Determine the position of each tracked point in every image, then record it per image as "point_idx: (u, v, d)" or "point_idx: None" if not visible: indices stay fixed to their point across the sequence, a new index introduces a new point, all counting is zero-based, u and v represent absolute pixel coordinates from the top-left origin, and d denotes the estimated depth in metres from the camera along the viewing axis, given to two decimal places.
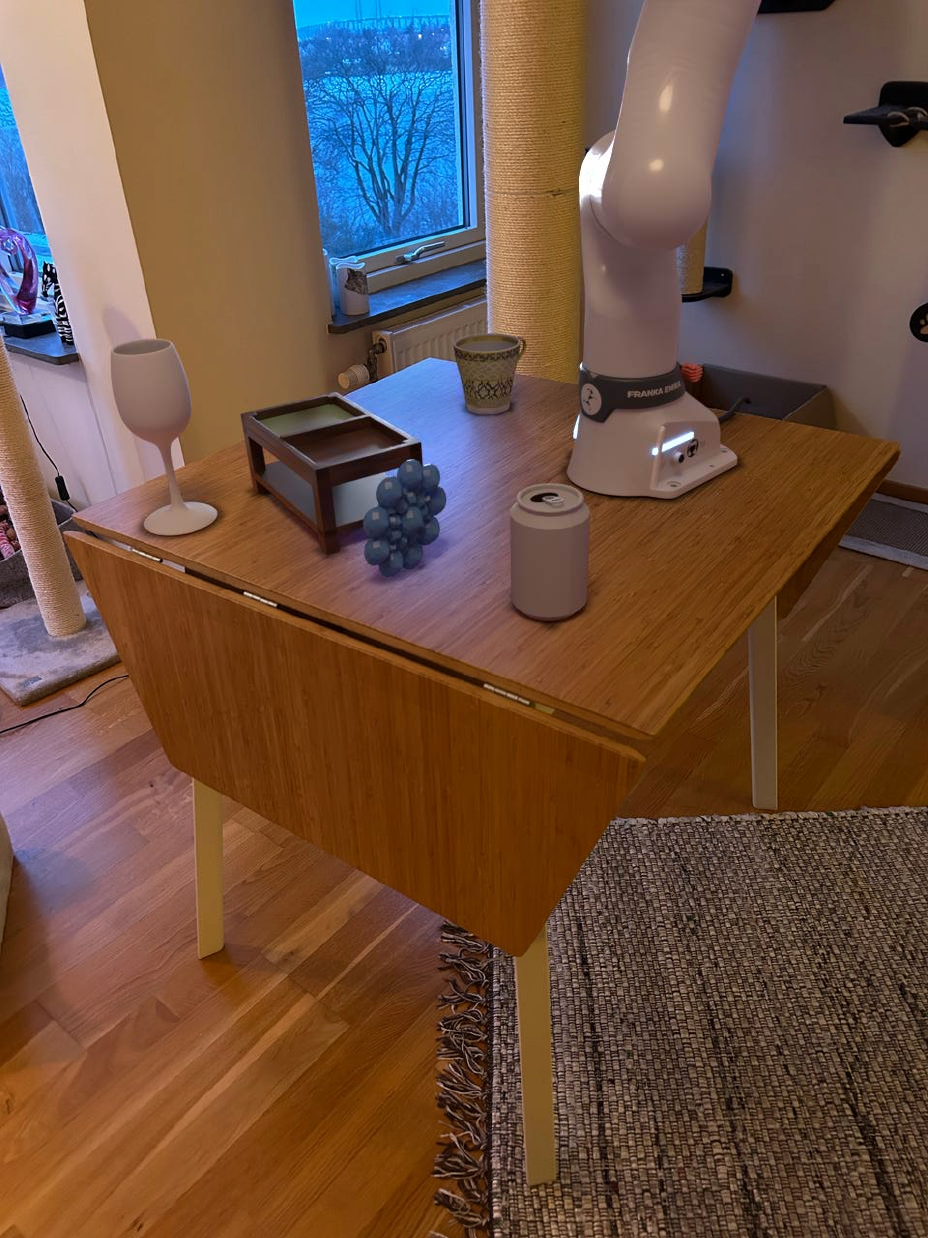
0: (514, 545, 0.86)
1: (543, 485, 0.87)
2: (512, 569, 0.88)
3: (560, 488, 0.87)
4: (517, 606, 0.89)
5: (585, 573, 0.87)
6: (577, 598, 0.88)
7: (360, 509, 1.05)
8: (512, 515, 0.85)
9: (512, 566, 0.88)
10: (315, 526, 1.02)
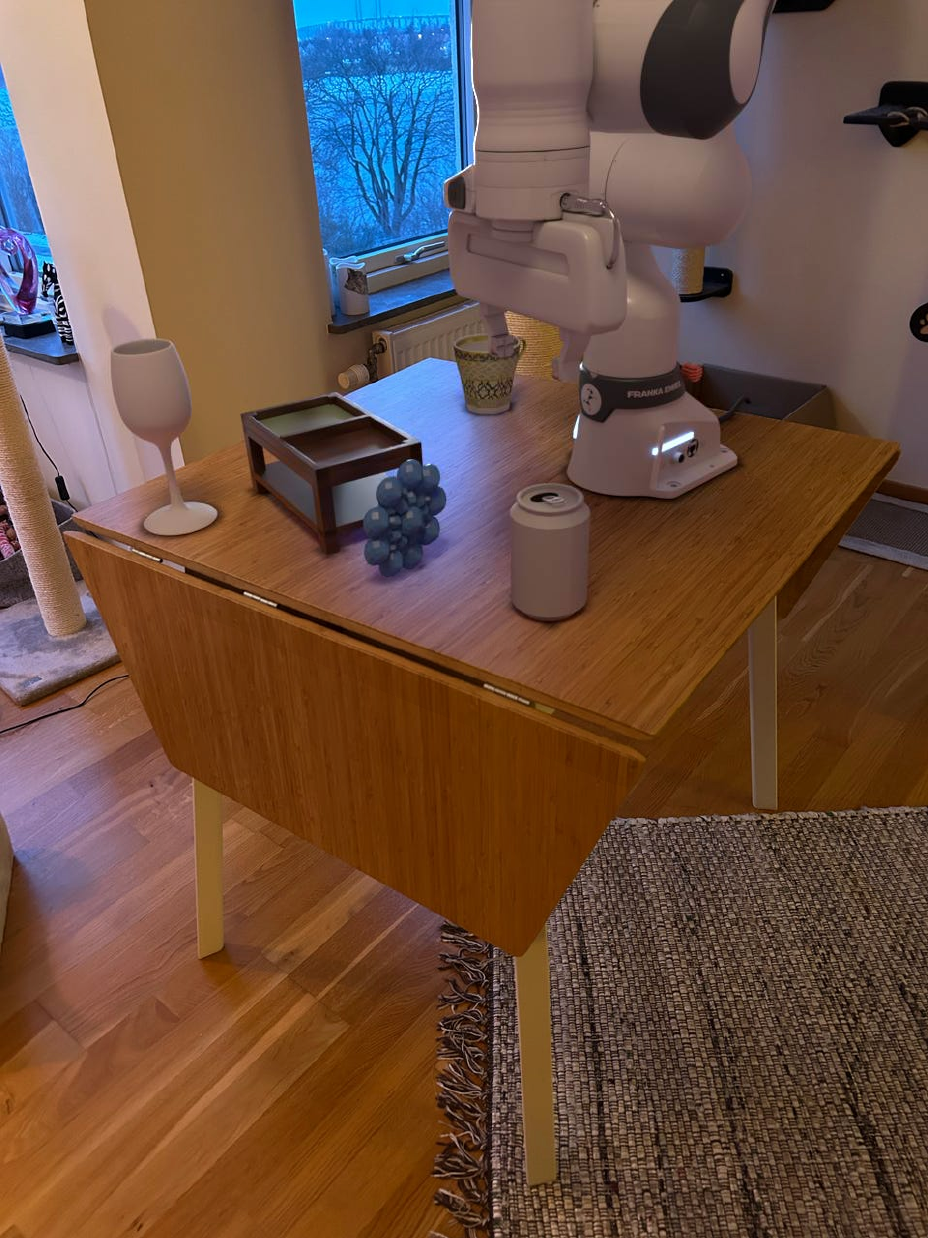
0: (514, 545, 0.86)
1: (543, 485, 0.87)
2: (512, 569, 0.88)
3: (560, 488, 0.87)
4: (517, 606, 0.89)
5: (585, 573, 0.87)
6: (577, 598, 0.88)
7: (360, 509, 1.05)
8: (512, 515, 0.85)
9: (512, 566, 0.88)
10: (315, 526, 1.02)
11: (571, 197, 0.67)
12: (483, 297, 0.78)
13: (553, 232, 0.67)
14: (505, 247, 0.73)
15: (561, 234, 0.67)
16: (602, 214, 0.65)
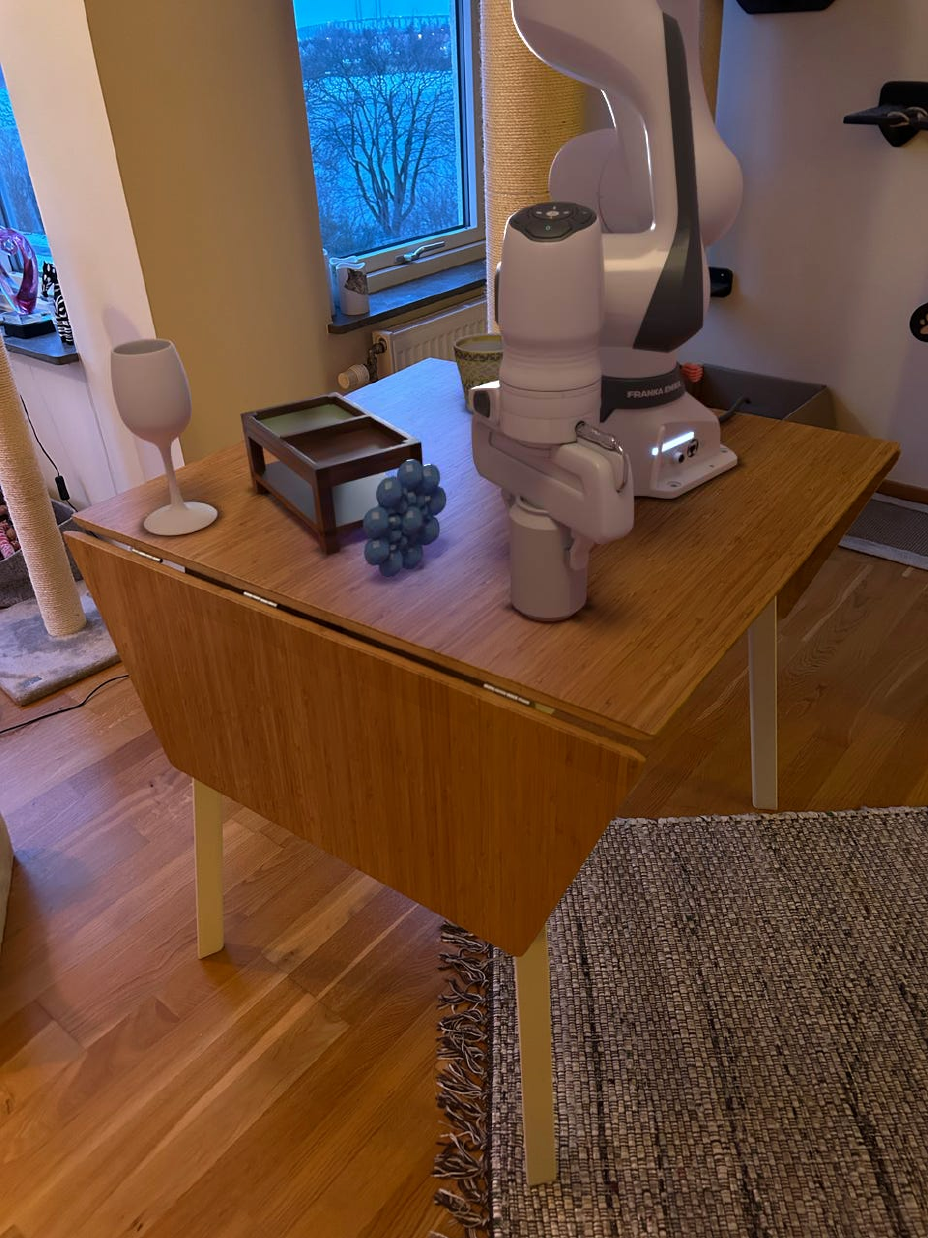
0: (514, 546, 0.86)
1: None
2: (512, 570, 0.88)
3: None
4: (516, 606, 0.89)
5: (584, 573, 0.87)
6: (577, 598, 0.88)
7: (360, 509, 1.05)
8: (511, 515, 0.85)
9: (511, 566, 0.88)
10: (315, 526, 1.02)
11: (585, 427, 0.76)
12: (503, 486, 0.87)
13: (570, 456, 0.77)
14: None
15: (577, 460, 0.76)
16: (613, 449, 0.74)
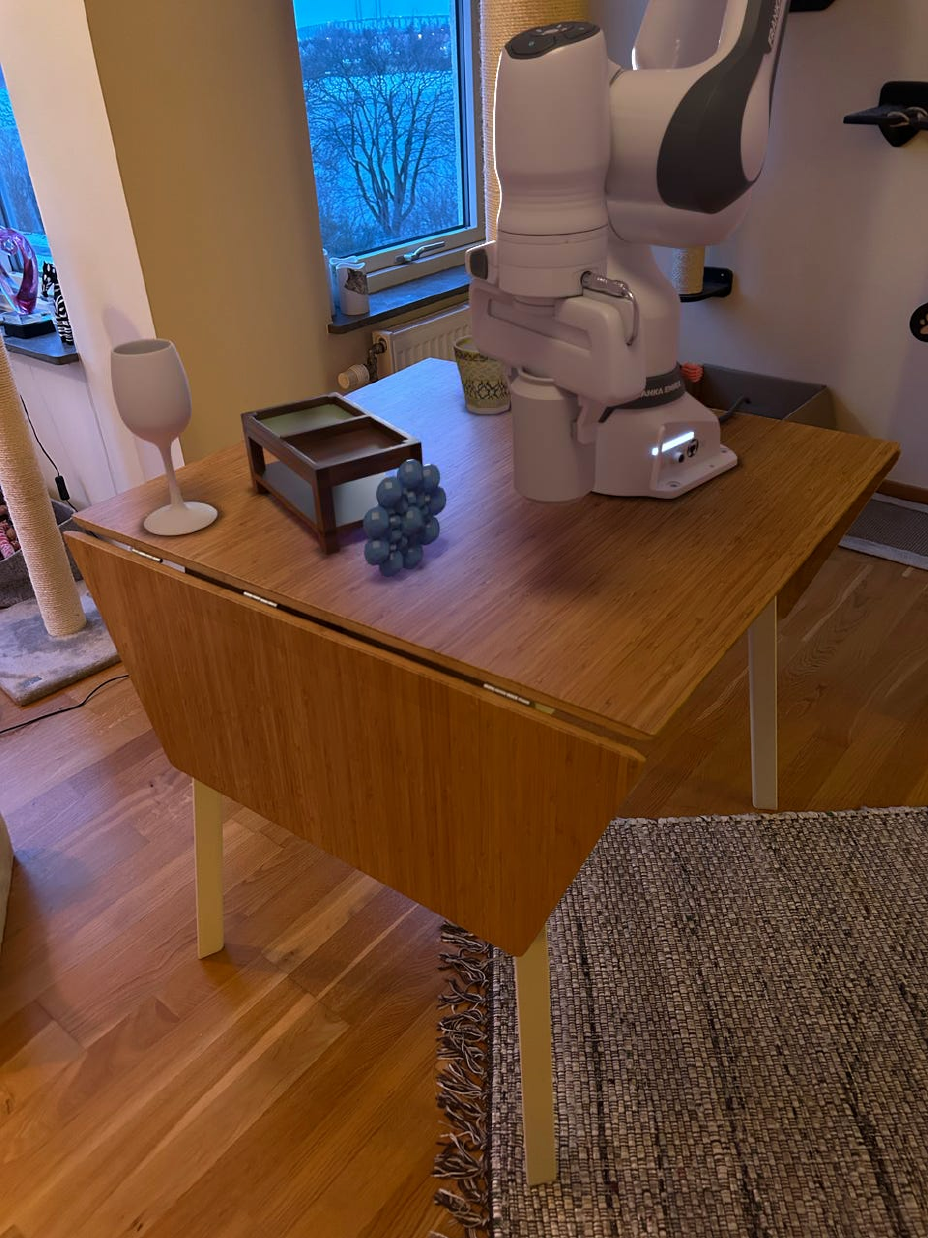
0: (516, 422, 0.80)
1: None
2: (514, 451, 0.82)
3: None
4: (520, 491, 0.83)
5: (593, 453, 0.81)
6: (585, 480, 0.82)
7: (360, 509, 1.05)
8: (513, 388, 0.79)
9: (514, 447, 0.82)
10: (315, 526, 1.02)
11: (592, 276, 0.70)
12: (504, 359, 0.81)
13: (575, 309, 0.71)
14: (526, 315, 0.77)
15: (583, 312, 0.70)
16: (622, 295, 0.68)
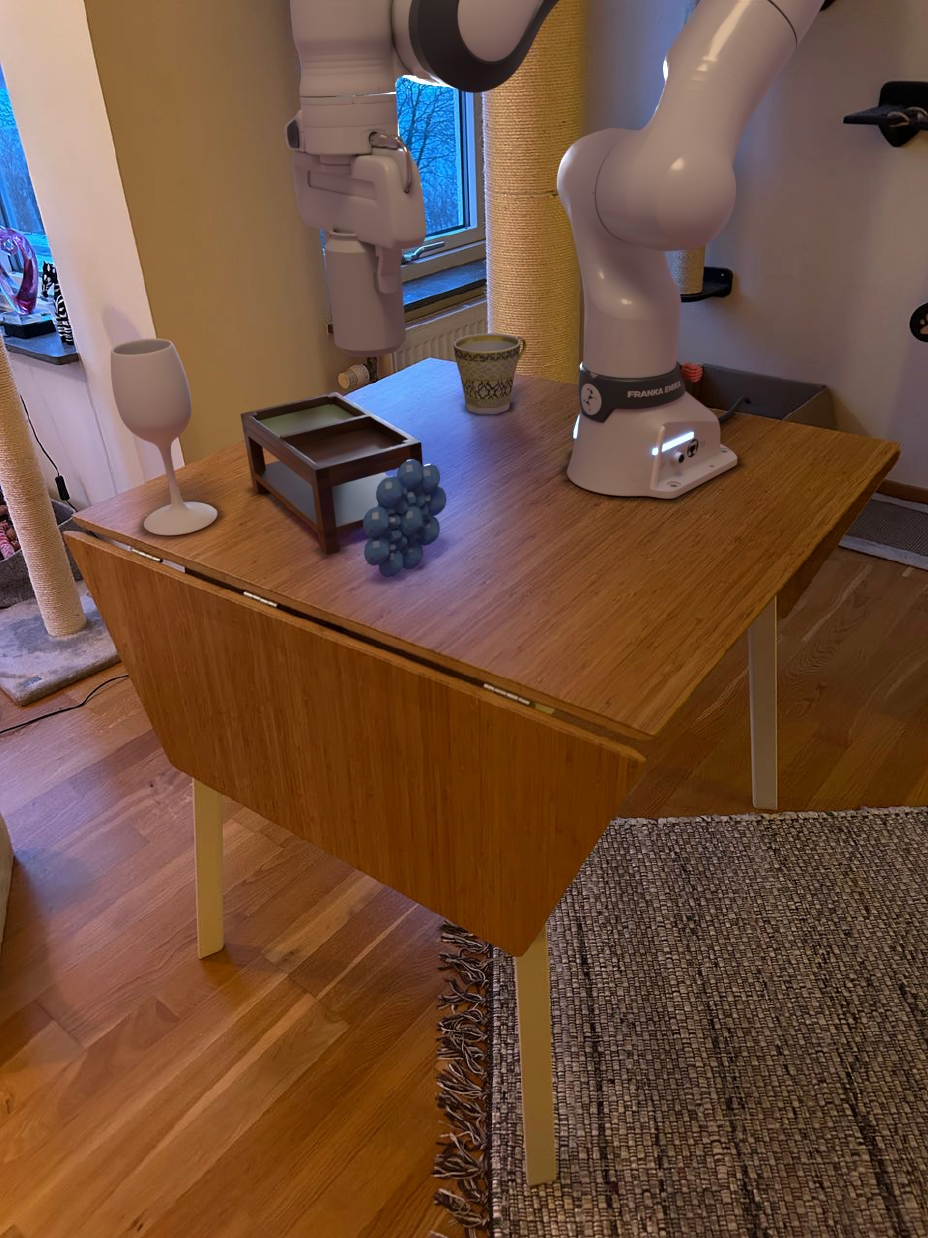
0: (329, 277, 0.91)
1: None
2: (331, 306, 0.93)
3: None
4: (338, 344, 0.94)
5: (399, 308, 0.93)
6: (392, 332, 0.93)
7: (360, 509, 1.05)
8: (325, 246, 0.90)
9: (330, 302, 0.93)
10: (315, 526, 1.02)
11: (376, 134, 0.81)
12: (322, 225, 0.92)
13: (363, 164, 0.82)
14: (334, 180, 0.88)
15: (368, 165, 0.81)
16: (398, 147, 0.80)
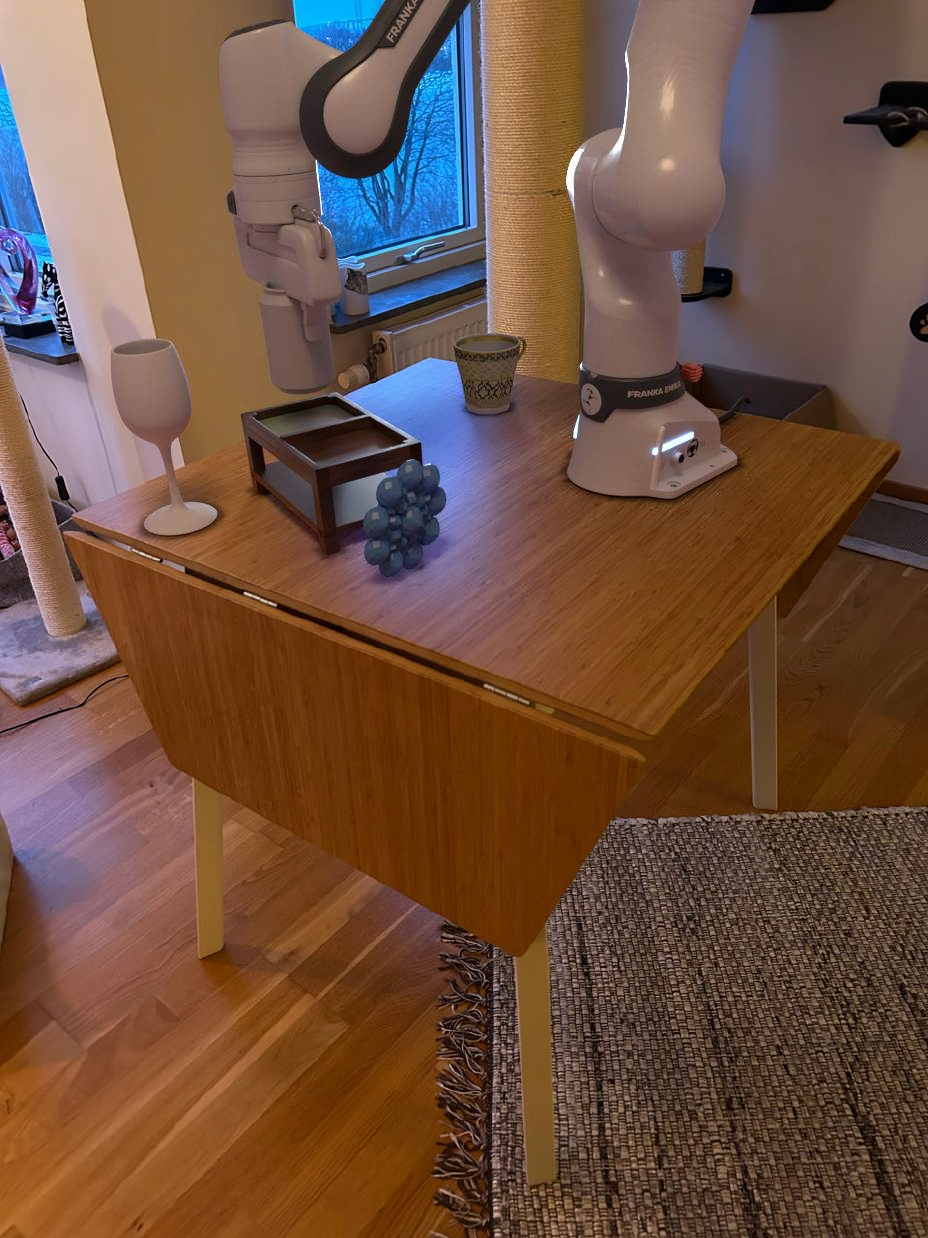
0: (264, 326, 1.04)
1: None
2: (267, 350, 1.06)
3: None
4: (273, 383, 1.07)
5: (326, 352, 1.05)
6: (320, 373, 1.06)
7: (360, 509, 1.05)
8: None
9: (266, 347, 1.06)
10: (315, 526, 1.02)
11: (297, 208, 0.94)
12: (260, 279, 1.06)
13: (286, 232, 0.95)
14: (266, 242, 1.01)
15: (290, 234, 0.94)
16: (313, 220, 0.92)
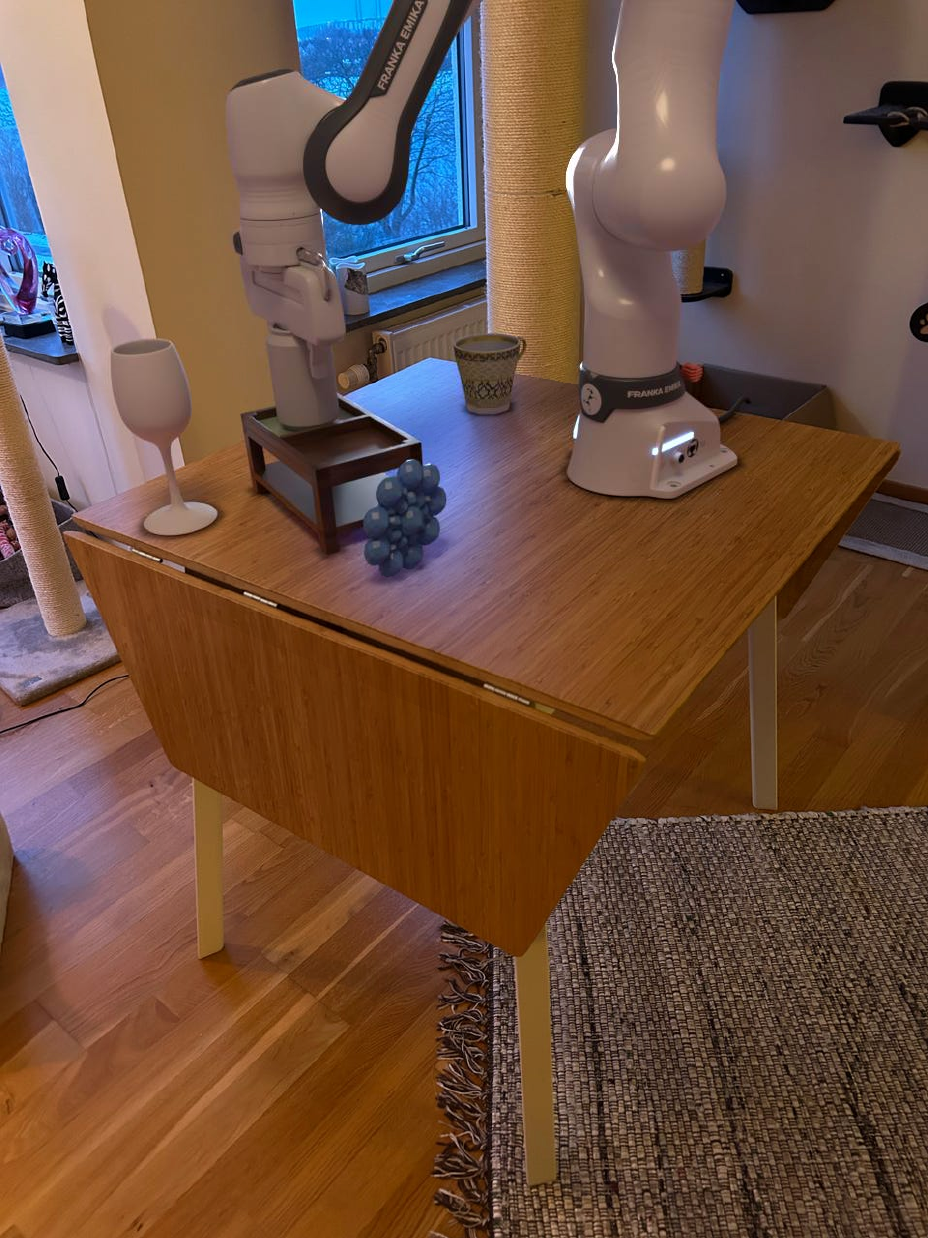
0: (270, 365, 1.06)
1: None
2: (273, 388, 1.08)
3: None
4: (279, 419, 1.10)
5: (331, 390, 1.08)
6: (325, 410, 1.08)
7: (360, 509, 1.05)
8: (266, 339, 1.06)
9: (272, 385, 1.08)
10: (315, 526, 1.02)
11: (302, 251, 0.97)
12: (265, 316, 1.08)
13: (291, 274, 0.97)
14: (272, 282, 1.03)
15: (295, 276, 0.97)
16: (318, 264, 0.95)
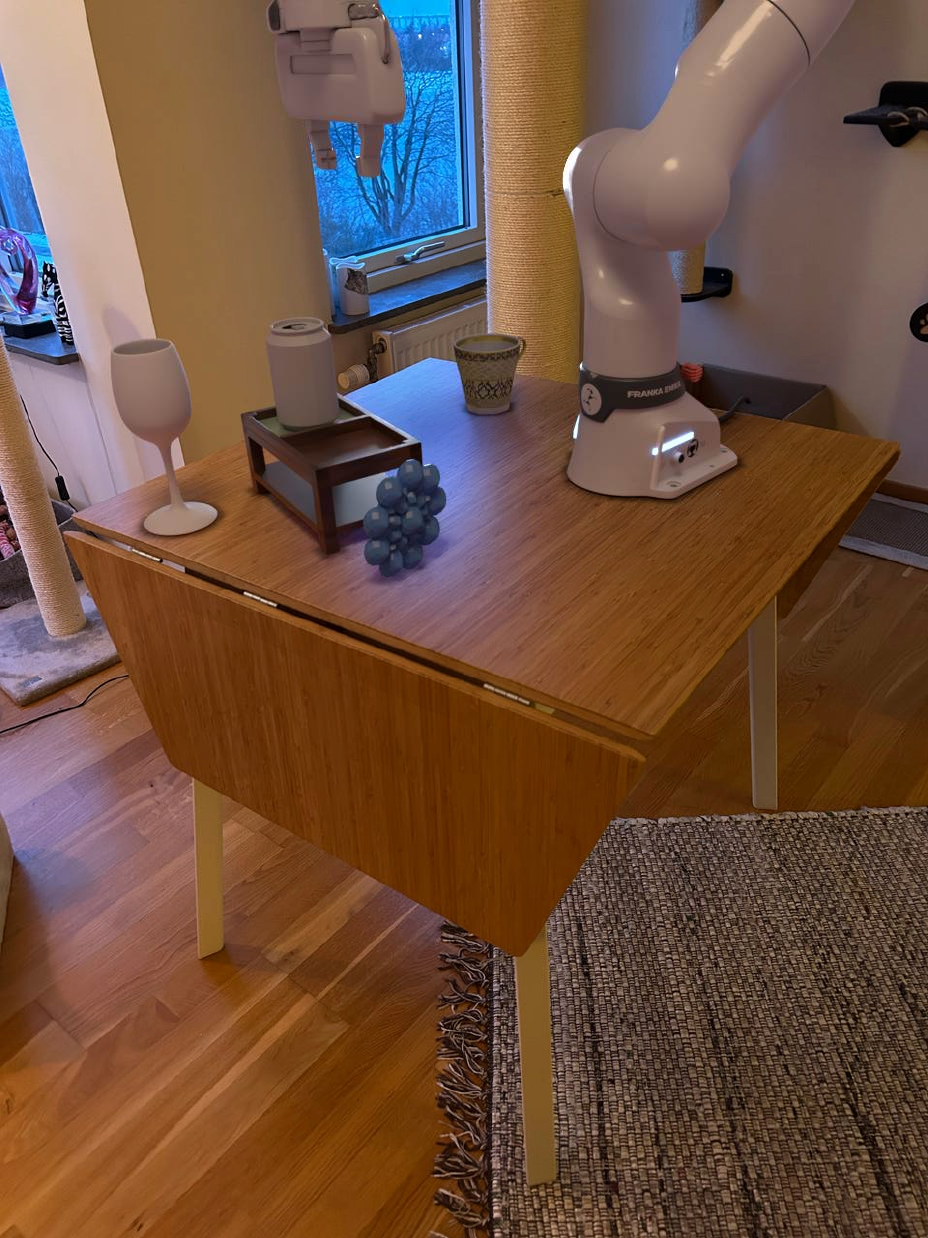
0: (270, 365, 1.06)
1: (296, 318, 1.08)
2: (273, 388, 1.08)
3: (310, 320, 1.07)
4: (279, 419, 1.10)
5: (331, 390, 1.08)
6: (325, 410, 1.08)
7: (360, 509, 1.05)
8: (266, 339, 1.06)
9: None
10: (315, 526, 1.02)
11: (355, 5, 0.80)
12: (305, 112, 0.92)
13: (342, 36, 0.81)
14: (315, 61, 0.87)
15: (347, 36, 0.80)
16: (376, 15, 0.78)
